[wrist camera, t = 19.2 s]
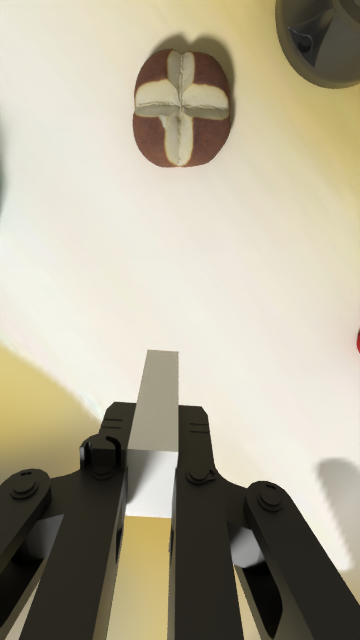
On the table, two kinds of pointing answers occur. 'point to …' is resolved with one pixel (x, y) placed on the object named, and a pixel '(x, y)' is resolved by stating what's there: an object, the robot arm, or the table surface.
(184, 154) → the bread
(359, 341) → the beverage can
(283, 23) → the robot arm
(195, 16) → the table surface
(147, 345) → the table surface
